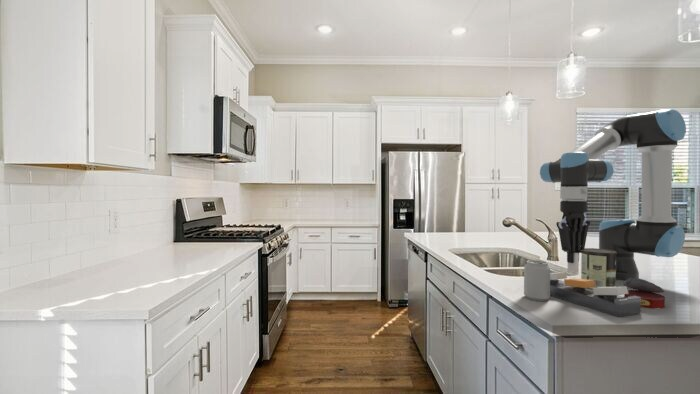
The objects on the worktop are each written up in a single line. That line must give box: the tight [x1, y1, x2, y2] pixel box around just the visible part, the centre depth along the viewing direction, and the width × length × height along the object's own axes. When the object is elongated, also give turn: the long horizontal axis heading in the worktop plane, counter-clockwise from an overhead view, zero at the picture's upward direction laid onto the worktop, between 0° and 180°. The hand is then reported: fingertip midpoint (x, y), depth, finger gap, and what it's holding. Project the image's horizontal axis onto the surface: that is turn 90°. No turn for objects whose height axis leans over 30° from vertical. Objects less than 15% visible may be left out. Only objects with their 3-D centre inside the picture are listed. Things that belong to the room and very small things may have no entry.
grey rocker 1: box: [550, 271, 568, 280], centre depth 124 cm, size 7×4×2 cm, turn 22°
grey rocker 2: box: [593, 286, 629, 296], centre depth 107 cm, size 7×4×2 cm, turn 22°
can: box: [523, 259, 551, 302], centre depth 117 cm, size 8×8×12 cm
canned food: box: [623, 277, 666, 309], centre depth 113 cm, size 11×10×10 cm
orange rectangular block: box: [563, 277, 595, 288], centre depth 116 cm, size 7×4×2 cm, turn 22°
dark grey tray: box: [550, 279, 642, 318], centre depth 116 cm, size 30×9×5 cm, turn 22°
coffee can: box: [580, 247, 617, 289], centre depth 127 cm, size 10×10×14 cm
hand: (572, 272), depth 118 cm, fingers closed
